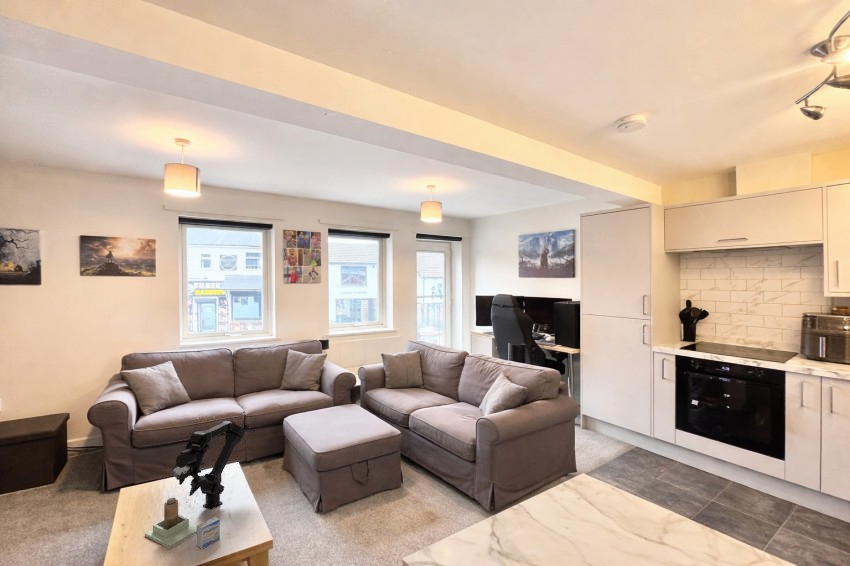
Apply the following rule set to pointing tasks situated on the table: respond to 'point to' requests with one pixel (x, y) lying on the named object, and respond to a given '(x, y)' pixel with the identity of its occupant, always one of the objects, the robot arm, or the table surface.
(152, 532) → the sage tray
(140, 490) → the table surface
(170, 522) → the pepper mill
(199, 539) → the medicine box
